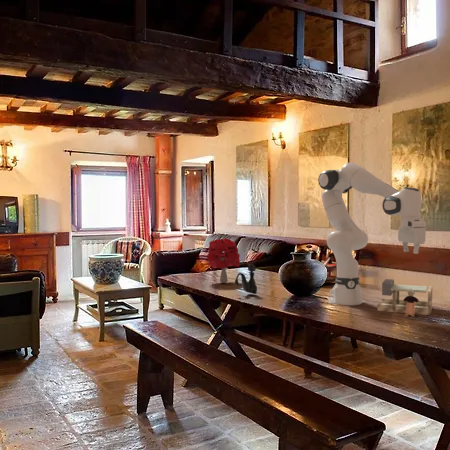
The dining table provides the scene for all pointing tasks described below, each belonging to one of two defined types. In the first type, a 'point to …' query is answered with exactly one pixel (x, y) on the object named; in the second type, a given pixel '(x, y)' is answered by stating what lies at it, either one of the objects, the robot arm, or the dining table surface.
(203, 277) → the dining table surface
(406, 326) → the dining table surface
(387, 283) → the hammer
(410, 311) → the grandmother figurine
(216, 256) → the bouquet
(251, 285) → the cat figurine
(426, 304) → the frame
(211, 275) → the dining table surface
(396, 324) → the dining table surface
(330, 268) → the stew
